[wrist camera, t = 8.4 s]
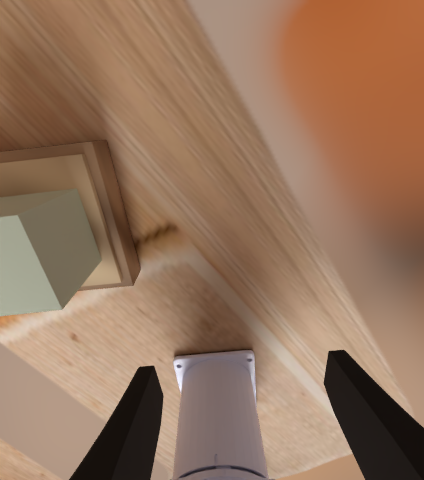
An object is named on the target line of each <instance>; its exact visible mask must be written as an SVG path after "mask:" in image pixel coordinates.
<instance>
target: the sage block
mask: <svg viewBox="0 0 424 480" xmlns="http://www.w3.org/2000/svg"><path fill="white" fill-rule="evenodd" d="M101 261H102V259H101V256H100V253H99V251H98V248H97V245H96V242H95V239H94V236H93V233H92V230H91V228H90V225H89V222H88V219H87V216H86V213H85V210H84V207H83V205H82V202H81V199H80V196H79V193H78V190H77V188H75V189H67V190H58V191H50V192H42V193H33V194H25V195H16V196H8V197H0V316H6V315H16V314H26V313H35V312H45V311H55V310H62V309H63V308H64V307H65V306H66V304H67V303H68V302H69V301H70V299H71V298H72V297H73V296H74V294H75V293H76V292H77V291H78V290H79V288H80V287H81V286H82V285H83V283H84V282H85V281H86V280H87V278H88V277H89V276H90V275H91V273H92V272H93V271H94V270H95V268H96V267H97V266H98V265H99V263H100V262H101Z"/></svg>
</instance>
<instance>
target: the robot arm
mask: <svg viewBox="0 0 424 480" xmlns="http://www.w3.org/2000/svg"><path fill="white" fill-rule="evenodd" d="M249 358H250V359H249ZM173 364H174V368H175V372H176V376H177V380H178V385H179V389H180V393H181V399H180V409H179V419H178V428H177V438H176V448H175V458H174V468H173V478H172V479H170V480H275V479H269V477H268V471H267V465H266V460H265V454H264V448H263V442H262V437H261V431H260V425H259V419H258V414H257V405H256V382H255V358H254V352H253V351H251V350H243V351H231V352H220V353H208V354H197V355H185V356H176V357H175V358H174V360H173ZM178 364H179V365H178ZM324 386H325V388H326V391H327V394H328V397H329V400H330V403H331V406H332V408H333V411H334V413H335V416H336V418H337V420H338V422H339V424H340V427H341V429H342V431H343V433H344V435H345V437H346V439H347V442H348V444H349V446H350V448H351V450H352V452H353V454H354V457H355V459H356V461H357V463H358V465H359V467H360V469H361V471H362V474H363V476H364V478H365V480H424V428H423V427H422V426H421V425H420V424H419V423H418V422H417V421H416V420H414V419H413V418H412V417H411V416H410V415H409V414H408V413H407V412H406V411H405V410H404V409H403V408H402V407H401V406H400V405H399V404H398V403H396V402H395V401H394V400H393V399H392V398H391V397H390V396H389V395H388V394H387V393H386V392H385V391H384V390H383V389H382V388H381V387H380V386H379V385H378V384H377V383H376V382H375V381H374V380H373V379H372V378H371V377H370V376H369V375H368V374H367V373H366V372H365V371H364V370H363V369H362V368H361V367H360V366H359V365H358V364H357V362H356V361H355V360H354V359H353V358H352V357H351V356H350V355H349V354H348V353H347V352H346V351H345V350H336V351H329V353H328V359H327V365H326V372H325V378H324ZM162 407H163V393H162V390H161V386H160V383H159V380H158V377H157V373H156V370H155V367H154V366H144V367H139V368H138V369H137V371H136V373H135V375H134V377H133V379H132V380H131V382H130V384H129V386H128V388H127V390H126V391H125V393H124V395H123V397H122V398H121V400H120V402H119V404H118V405H117V407H116V409H115V410H114V412H113V414H112V415H111V417H110V419H109V420H108V422H107V424H106V425H105V427H104V429H103V430H102V432H101V433H100V435H99V436H98V438H97V439H96V441H95V442H94V444H93V445H92V447H91V448H90V450H89V452H88V453H87V455H86V456H85V458H84V459H83V461H82V462H81V463H80V465H79V467H78V468H77V469H76V471H75V472H74V474H73V475H72V476H71V478H70V479H69V480H150V478H151V473H152V468H153V463H154V457H155V452H156V447H157V442H158V437H159V431H160V426H161V417H162Z"/></svg>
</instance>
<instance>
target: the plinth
mask: <svg viewBox="0 0 424 480" xmlns="http://www.w3.org/2000/svg"><path fill="white" fill-rule="evenodd" d="M75 188H77V190H78V193H79V196H80V199H81V202H82V205H83V207H84V210H85V213H86V216H87V219H88V222H89V225H90V228H91V230H92V233H93V236H94V239H95V242H96V245H97V248H98V251H99V253H100V256H101V259H102V261H101V262H100V263H99V265H98V266H97V267H96V268H95V270H94V271H93V272H92V273H91V275H90V276H89V277H88V278H87V280H86V281H85V282H84V283H83V285H82V286H81V287H80V288H79V290H78V291H82V290H93V289H103V288H114V287H124V286H133V285H134V283H135V281H136V279H137V277H138V274H139V272H140V266H139V262H138V258H137V254H136V251H135V247H134V243H133V239H132V235H131V232H130V228H129V224H128V220H127V217H126V213H125V209H124V205H123V201H122V198H121V194H120V190H119V186H118V182H117V179H116V175H115V171H114V167H113V163H112V160H111V156H110V152H109V148H108V145H107V141H106V140H101V141H91V142H83V143H74V144H65V145H56V146H47V147H38V148H30V149H21V150H12V151H3V152H0V197H8V196H16V195H25V194H33V193H42V192H50V191H58V190H67V189H75Z"/></svg>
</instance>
